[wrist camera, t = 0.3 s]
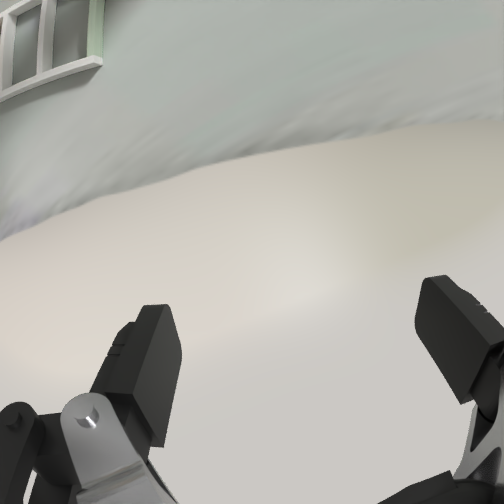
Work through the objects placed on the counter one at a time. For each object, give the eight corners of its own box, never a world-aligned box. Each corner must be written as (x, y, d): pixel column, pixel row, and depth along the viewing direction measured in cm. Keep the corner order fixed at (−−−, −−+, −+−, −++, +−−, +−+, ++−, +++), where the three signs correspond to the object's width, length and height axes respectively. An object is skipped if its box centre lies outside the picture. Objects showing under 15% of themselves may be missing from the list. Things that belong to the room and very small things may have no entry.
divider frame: (-18, 33, 23) (-27, 31, 21) (107, -28, 23) (100, -35, 21) (-22, 113, 29) (-33, 115, 27) (102, 65, 29) (93, 62, 27)
